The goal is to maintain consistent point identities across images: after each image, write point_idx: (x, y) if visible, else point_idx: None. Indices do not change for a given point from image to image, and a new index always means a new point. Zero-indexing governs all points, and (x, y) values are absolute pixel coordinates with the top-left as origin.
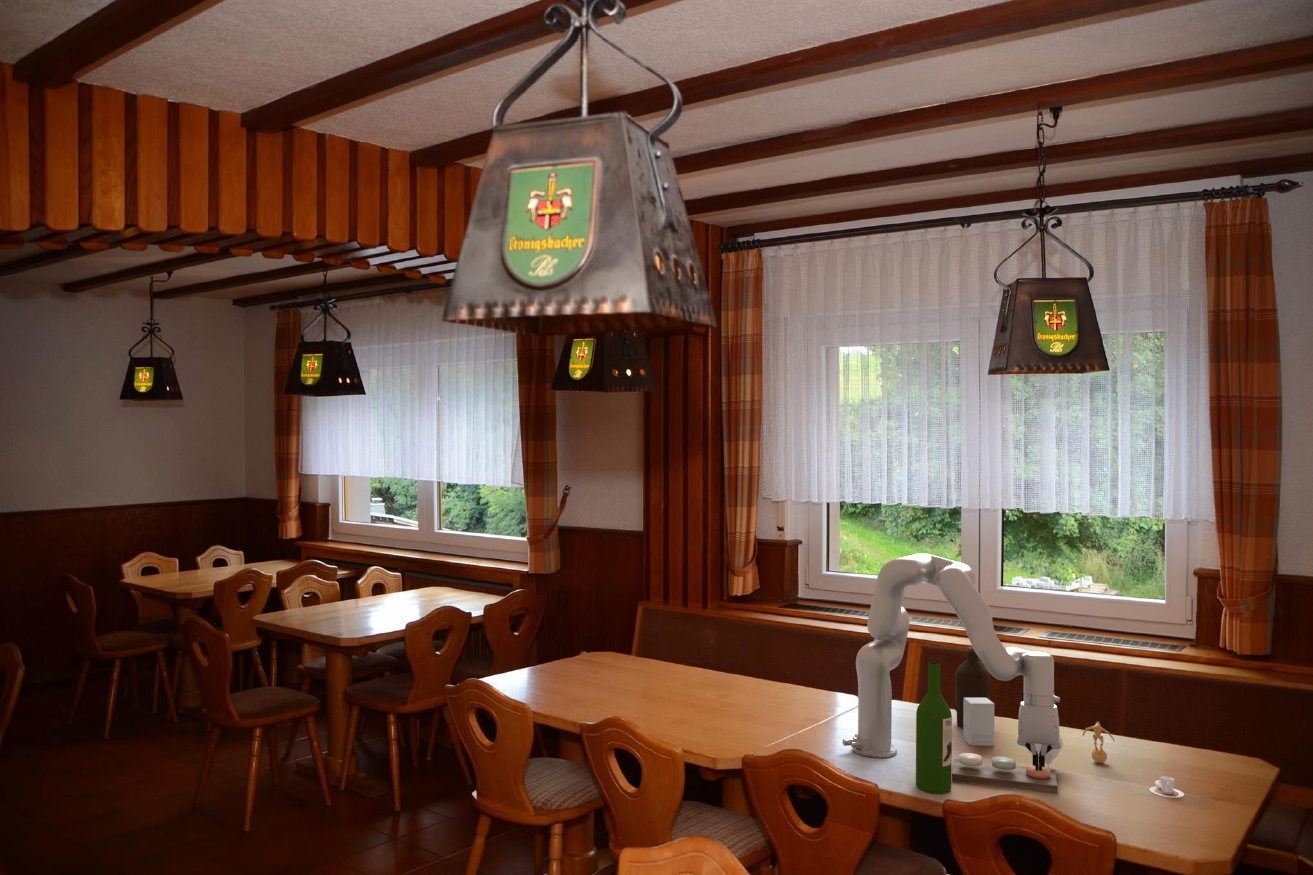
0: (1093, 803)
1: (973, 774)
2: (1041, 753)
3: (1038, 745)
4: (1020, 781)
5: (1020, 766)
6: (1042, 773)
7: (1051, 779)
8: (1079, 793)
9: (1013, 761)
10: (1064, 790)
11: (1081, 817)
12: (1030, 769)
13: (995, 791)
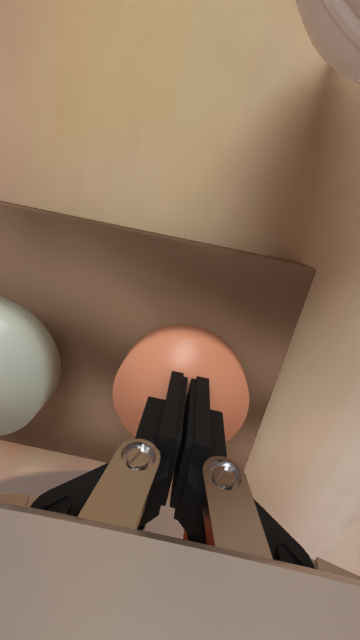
0: (334, 526)
1: None
2: (186, 534)
3: (306, 1)
4: (87, 454)
5: (114, 234)
6: None
7: None
8: (328, 449)
9: (28, 390)
10: (277, 425)
11: None
12: (134, 416)
13: (8, 458)
